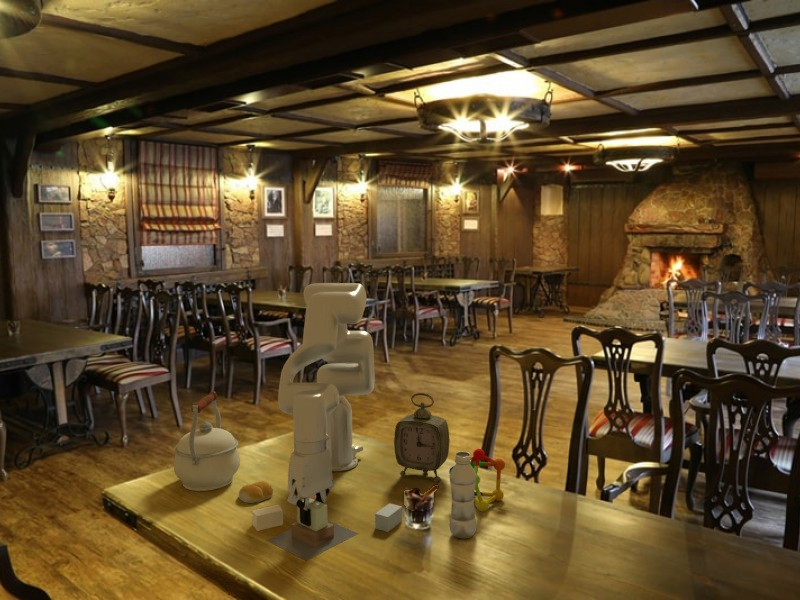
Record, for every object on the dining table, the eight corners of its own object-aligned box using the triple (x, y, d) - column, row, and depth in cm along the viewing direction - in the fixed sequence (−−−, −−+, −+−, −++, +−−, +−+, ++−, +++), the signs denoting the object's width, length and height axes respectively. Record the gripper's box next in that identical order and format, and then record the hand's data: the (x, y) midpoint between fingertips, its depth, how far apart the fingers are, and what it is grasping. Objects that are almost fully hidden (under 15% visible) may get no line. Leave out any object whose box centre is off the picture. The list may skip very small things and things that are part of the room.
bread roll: (279, 496, 174) (278, 482, 174) (251, 506, 168) (250, 492, 168) (261, 487, 180) (261, 474, 180) (233, 497, 174) (233, 483, 173)
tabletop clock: (394, 477, 186) (393, 394, 183) (406, 467, 194) (405, 386, 191) (441, 485, 180) (441, 399, 177) (451, 473, 188) (451, 391, 185)
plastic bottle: (479, 530, 153) (479, 450, 151) (473, 544, 147) (473, 460, 144) (453, 527, 155) (453, 447, 153) (446, 540, 149) (445, 457, 146)
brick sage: (297, 522, 149) (296, 502, 148) (309, 517, 152) (308, 497, 151) (316, 531, 145) (315, 510, 144) (327, 525, 147) (327, 505, 147)
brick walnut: (311, 526, 153) (310, 515, 153) (334, 537, 148) (333, 525, 148) (291, 536, 149) (291, 523, 149) (314, 547, 144) (314, 534, 143)
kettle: (227, 498, 173) (223, 409, 170) (161, 497, 174) (156, 408, 171) (253, 463, 198) (250, 385, 195) (195, 463, 199) (191, 385, 196)
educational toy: (462, 491, 178) (465, 438, 178) (507, 501, 172) (509, 446, 172) (440, 508, 164) (442, 451, 164) (487, 519, 158) (490, 459, 158)
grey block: (389, 522, 158) (389, 503, 158) (402, 525, 156) (402, 506, 156) (375, 533, 153) (375, 513, 152) (388, 537, 151) (387, 517, 150)
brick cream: (278, 523, 158) (278, 504, 157) (283, 529, 155) (282, 510, 154) (252, 529, 155) (252, 510, 154) (257, 536, 152) (256, 516, 151)
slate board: (318, 520, 159) (318, 516, 159) (358, 538, 150) (358, 533, 150) (266, 545, 147) (266, 540, 147) (306, 565, 138) (306, 560, 138)
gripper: (326, 432, 155) (327, 504, 157) (271, 451, 142) (273, 529, 144) (347, 439, 150) (349, 513, 152) (292, 458, 137) (295, 539, 139)
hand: (312, 520), depth 148 cm, fingers closed on brick sage, 3 cm apart
